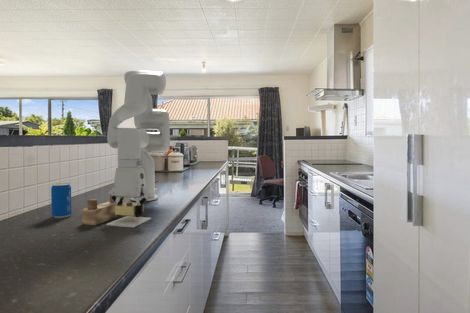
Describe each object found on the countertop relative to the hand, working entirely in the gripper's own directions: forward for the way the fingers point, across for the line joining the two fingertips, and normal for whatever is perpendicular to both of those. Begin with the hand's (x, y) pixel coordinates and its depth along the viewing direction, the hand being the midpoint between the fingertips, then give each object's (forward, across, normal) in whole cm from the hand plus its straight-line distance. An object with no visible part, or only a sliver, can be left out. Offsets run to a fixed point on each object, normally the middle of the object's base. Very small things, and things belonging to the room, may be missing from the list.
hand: (129, 215), depth 116 cm
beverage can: (+3, +28, 0) cm, 28 cm away
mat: (+2, 0, 0) cm, 2 cm away
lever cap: (-1, 0, 0) cm, 1 cm away
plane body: (+2, +11, -1) cm, 11 cm away
